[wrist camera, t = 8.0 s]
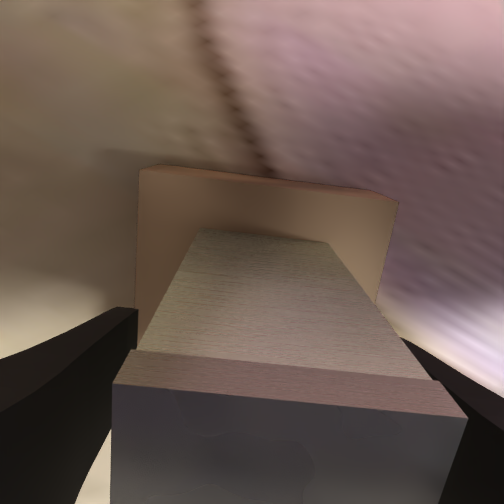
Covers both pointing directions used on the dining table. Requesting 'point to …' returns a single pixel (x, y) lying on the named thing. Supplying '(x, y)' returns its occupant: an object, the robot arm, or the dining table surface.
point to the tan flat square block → (251, 223)
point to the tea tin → (275, 388)
